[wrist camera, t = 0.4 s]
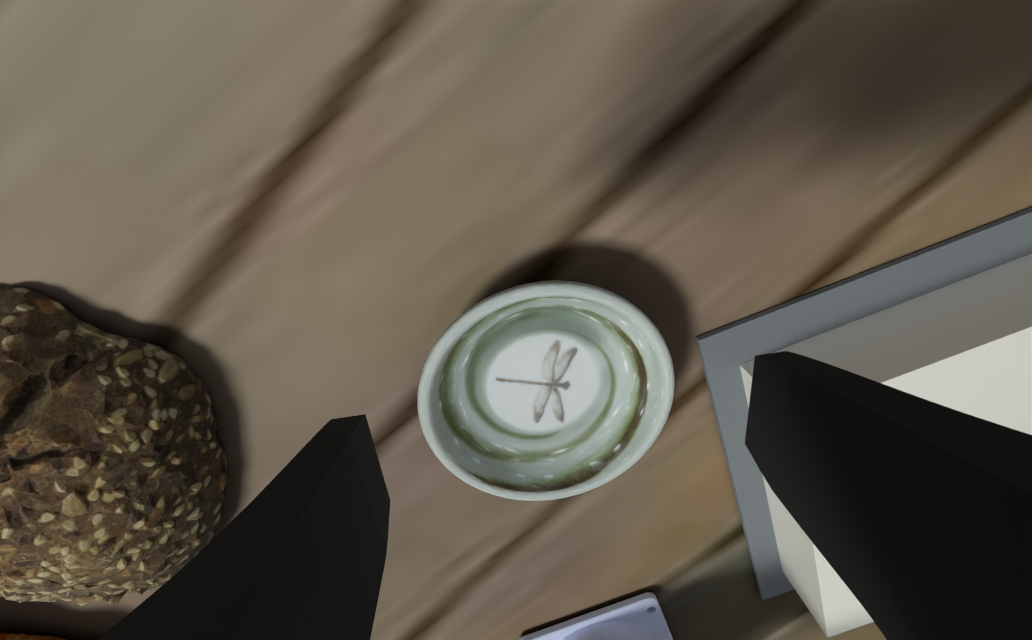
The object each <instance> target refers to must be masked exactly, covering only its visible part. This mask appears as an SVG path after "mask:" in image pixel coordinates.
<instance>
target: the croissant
mask: <svg viewBox="0 0 1032 640" xmlns="http://www.w3.org/2000/svg"><path fill="white" fill-rule="evenodd" d="M0 640H66V639H63V638H59V637H53V636H35V635H26V634H5V633H0Z"/></svg>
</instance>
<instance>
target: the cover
mask: <svg viewBox="0 0 1032 640" xmlns="http://www.w3.org/2000/svg"><path fill="white" fill-rule="evenodd" d="M783 351H789V352H793V353H796V354H800V355H803V356H806V357H809V358H813V359H816V360H819V361H821V362H824V363H827V364H830V365H833V366H836V367H838V368H841V369H844V370H847V371H849V372H852V373H855V374H857V375H860V376H863V377H866V378H868V379H871V380H874V381H876V382H879V383H882V384H884V385H887V386H890V387H893V388H895V389H898V390H901V391H903V392H906V393H909V394H912V395H914V396H917V397H920V398H923V399H926V400H928V401H931V402H934V403H937V404H940V405H942V406H945V407H948V408H951V409H954V410H957V411H960V412H963V413H966V414H969V415H972V416H975V417H978V418H981V419H984V420H987V421H990V422H993V423H996V424H999V425H1002V426H1005V427H1008V428H1011V429H1014V430H1017V431H1020V432H1024V433H1027V434H1030V435H1032V254H1029V255H1026V256H1024V257H1021V258H1019V259H1016V260H1013V261H1011V262H1008V263H1006V264H1003V265H1000V266H998V267H995V268H992V269H990V270H987V271H985V272H982V273H979V274H977V275H974V276H971V277H969V278H966V279H964V280H961V281H958V282H956V283H953V284H951V285H948V286H945V287H943V288H940V289H937V290H935V291H932V292H930V293H927V294H924V295H922V296H919V297H916V298H914V299H911V300H909V301H906V302H903V303H901V304H898V305H896V306H893V307H890V308H888V309H885V310H882V311H880V312H877V313H875V314H872V315H869V316H867V317H864V318H862V319H859V320H856V321H854V322H851V323H848V324H846V325H843V326H841V327H838V328H835V329H833V330H830V331H827V332H825V333H822V334H820V335H817V336H814V337H812V338H809V339H807V340H804V341H801V342H799V343H796V344H793V345H791V346H788V347H786V348H783V349H780V350H778V351H775V352H772V353H776V352H783ZM753 367H754V360H752V361H749V362H746V363H744V364H741V365H740V369H741V374H742V379H743V384H744V389H745V393H746V398H747V403H748V408H749V402H750V393H751V385H752V376H753ZM762 475H763V474H762ZM763 480H764V485H765V489H766V494H767V499H768V504H769V509H770V513H771V518H772V523H773V528H774V533H775V538H776V542H777V547H778V552H779V557H780V562H781V566H782V571H783V573H784V574H785V576H786V577H787V579H788V580H789V582H790V583H791V584H792V586H793V587H794V589H795V590H796V592H797V593H798V595H799V596H800V598H801V599H802V601H803V602H804V604H805V605H806V607H807V608H808V609H809V611H810V612H811V614H812V615H813V617H814V618H815V620H816V621H817V623H818V624H819V626H820V627H821V629H822V630H823V632H824V633H825V634H826V636H827V637H831V636H834V635H837V634H839V633H842V632H845V631H848V630H851V629H854V628H857V627H860V626H863V625H866V624H869V623H872V622H874V621H873V620H872V618H871V617H870V616H869V614H868V613H867V611H866V610H865V609H864V607H863V606H862V605H861V603H860V602H859V601H858V600H857V598H856V597H855V596H854V594H853V593H852V592H851V591H850V589H849V588H848V587H847V586H846V584H845V583H844V582H843V581H842V579H841V578H840V577H839V575H838V574H837V573H836V572H835V570H834V569H833V568H832V567H831V565H830V564H829V563H828V562H827V560H826V559H825V558H824V556H823V555H822V554H821V553H820V551H819V550H818V549H817V548H816V546H815V545H814V544H813V543H812V541H811V540H810V539H809V537H808V536H807V535H806V534H805V532H804V531H803V530H802V529H801V527H800V526H799V525H798V523H797V522H796V521H795V520H794V518H793V517H792V516H791V514H790V513H789V512H788V510H787V509H786V508H785V507H784V505H783V504H782V503H781V501H780V500H779V499H778V497H777V496H776V495H775V493H774V492H773V491H772V489H771V487H770V486H769V484H768V483H767V481H766V479H765V478H764V476H763Z"/></svg>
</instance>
